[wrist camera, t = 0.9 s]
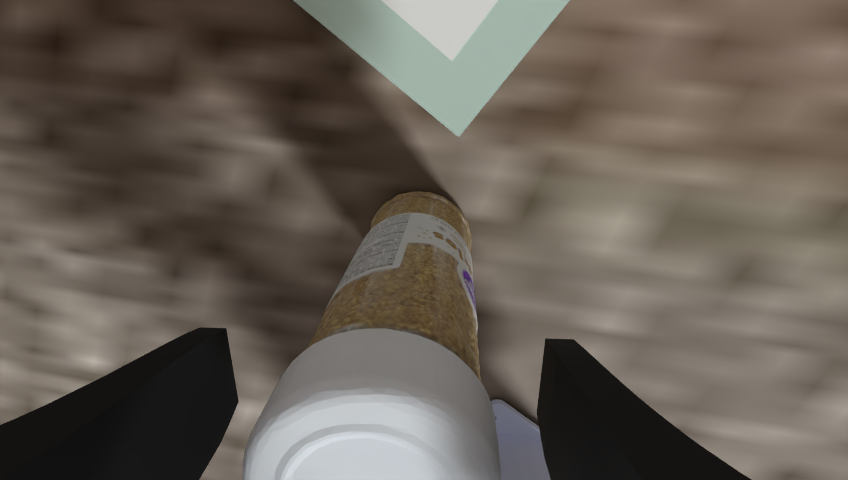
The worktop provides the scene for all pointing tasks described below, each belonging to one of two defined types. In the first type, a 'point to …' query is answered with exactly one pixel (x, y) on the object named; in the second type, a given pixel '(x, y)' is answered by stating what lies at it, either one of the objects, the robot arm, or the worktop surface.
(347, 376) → the sprinkles bottle
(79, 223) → the worktop surface
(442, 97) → the green white square tile
